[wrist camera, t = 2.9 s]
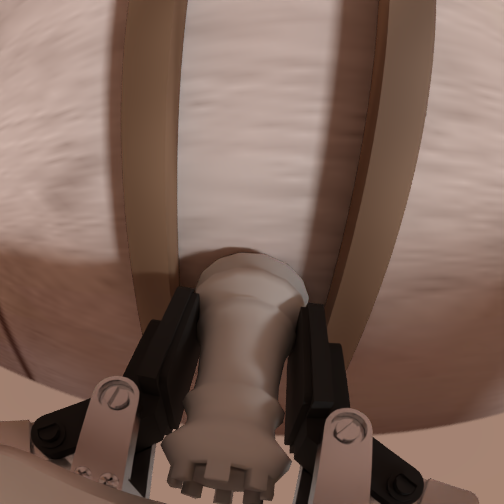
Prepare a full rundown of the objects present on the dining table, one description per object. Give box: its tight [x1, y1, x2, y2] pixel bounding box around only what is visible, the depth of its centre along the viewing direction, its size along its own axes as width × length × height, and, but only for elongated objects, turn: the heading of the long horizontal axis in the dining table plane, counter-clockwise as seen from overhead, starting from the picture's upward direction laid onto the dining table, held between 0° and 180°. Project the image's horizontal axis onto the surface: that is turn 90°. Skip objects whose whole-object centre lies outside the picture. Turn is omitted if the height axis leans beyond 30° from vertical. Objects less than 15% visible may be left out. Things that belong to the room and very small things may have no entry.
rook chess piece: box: [161, 253, 309, 504], centre depth 9 cm, size 4×4×8 cm
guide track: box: [121, 0, 436, 371], centre depth 8 cm, size 9×24×1 cm, turn 175°
